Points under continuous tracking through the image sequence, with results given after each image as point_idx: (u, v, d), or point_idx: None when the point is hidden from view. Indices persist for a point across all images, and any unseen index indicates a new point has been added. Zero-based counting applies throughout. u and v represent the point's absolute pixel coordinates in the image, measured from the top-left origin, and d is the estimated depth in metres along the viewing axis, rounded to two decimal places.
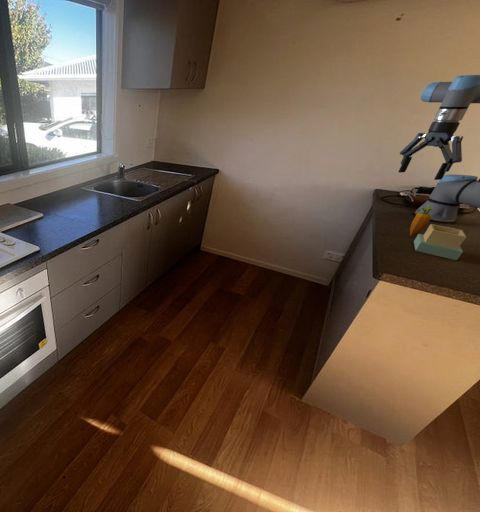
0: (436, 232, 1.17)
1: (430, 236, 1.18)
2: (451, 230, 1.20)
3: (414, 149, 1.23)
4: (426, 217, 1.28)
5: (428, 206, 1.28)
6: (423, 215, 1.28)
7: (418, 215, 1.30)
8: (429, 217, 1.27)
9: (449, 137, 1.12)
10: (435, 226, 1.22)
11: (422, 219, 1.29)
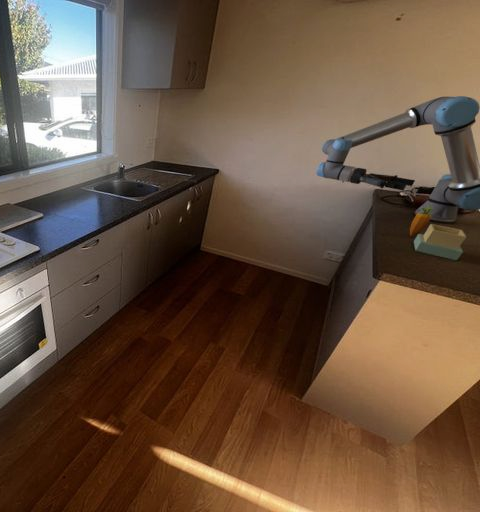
0: (436, 232, 1.17)
1: (430, 236, 1.18)
2: (451, 230, 1.20)
3: (383, 181, 1.41)
4: (426, 217, 1.28)
5: (428, 206, 1.28)
6: (423, 215, 1.28)
7: (418, 215, 1.30)
8: (429, 217, 1.27)
9: None
10: (435, 226, 1.22)
11: (422, 219, 1.29)
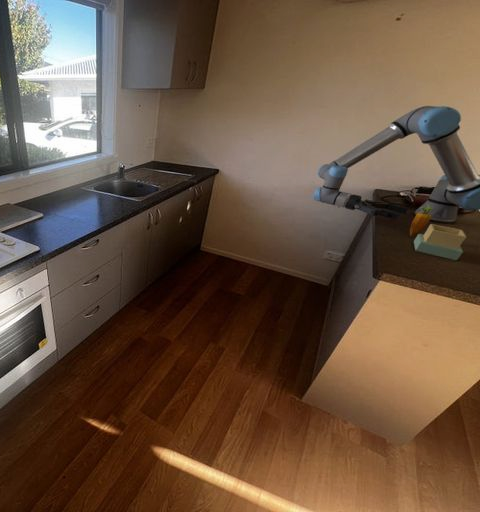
0: (436, 232, 1.17)
1: (430, 236, 1.18)
2: (451, 230, 1.20)
3: (378, 207, 1.45)
4: (426, 217, 1.28)
5: (428, 206, 1.28)
6: (423, 215, 1.28)
7: (418, 215, 1.30)
8: (429, 217, 1.27)
9: None
10: (435, 226, 1.22)
11: (422, 219, 1.29)
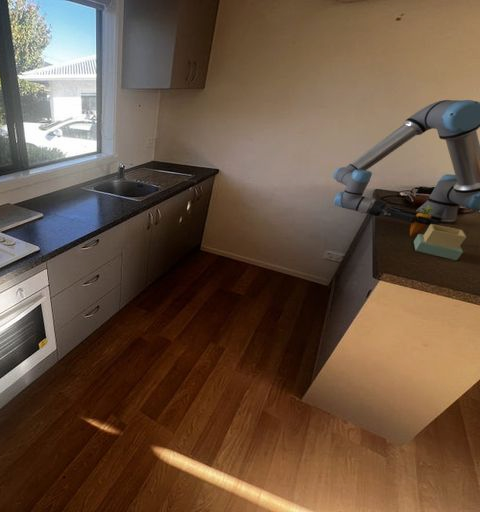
0: (436, 232, 1.17)
1: (430, 236, 1.18)
2: (451, 230, 1.20)
3: None
4: (426, 217, 1.28)
5: (428, 206, 1.28)
6: (423, 215, 1.28)
7: (418, 215, 1.30)
8: (429, 217, 1.27)
9: (383, 213, 1.37)
10: (435, 226, 1.22)
11: None
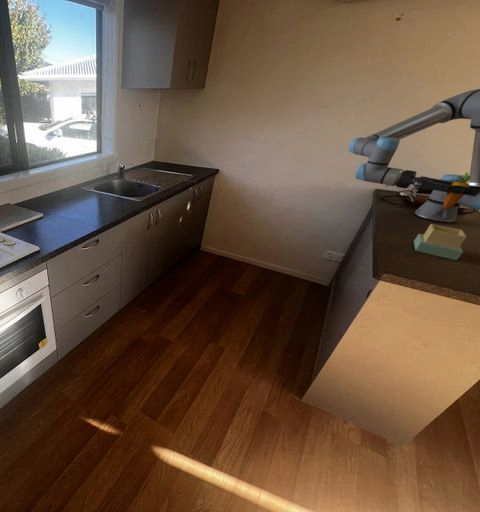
0: (436, 232, 1.17)
1: (430, 236, 1.18)
2: (451, 230, 1.20)
3: None
4: (464, 186, 1.13)
5: (466, 174, 1.13)
6: (460, 184, 1.14)
7: (454, 184, 1.15)
8: (467, 186, 1.13)
9: (413, 184, 1.23)
10: (435, 226, 1.22)
11: None
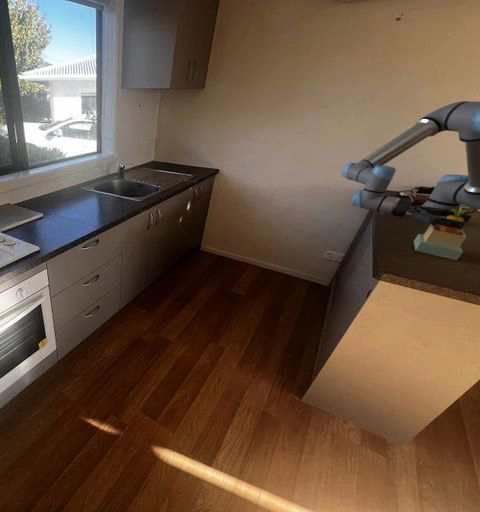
0: (436, 232, 1.17)
1: (430, 236, 1.18)
2: None
3: (432, 214, 1.23)
4: (458, 220, 1.14)
5: (460, 208, 1.14)
6: (454, 218, 1.14)
7: (448, 218, 1.16)
8: (461, 220, 1.13)
9: None
10: (435, 226, 1.22)
11: None
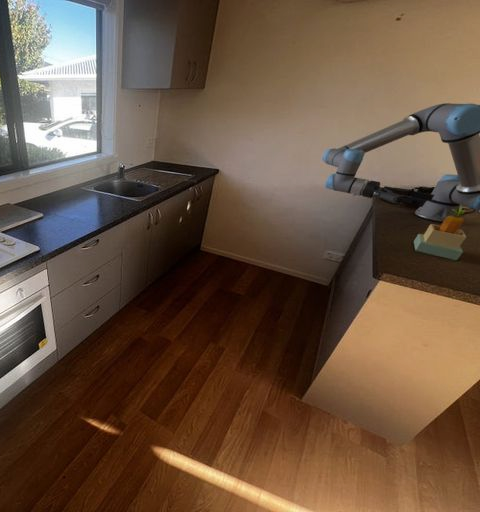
0: (436, 232, 1.17)
1: (430, 236, 1.18)
2: None
3: (399, 195, 1.30)
4: (458, 220, 1.14)
5: (460, 208, 1.14)
6: (454, 218, 1.14)
7: (448, 218, 1.16)
8: (461, 220, 1.13)
9: None
10: (435, 226, 1.22)
11: (453, 223, 1.14)
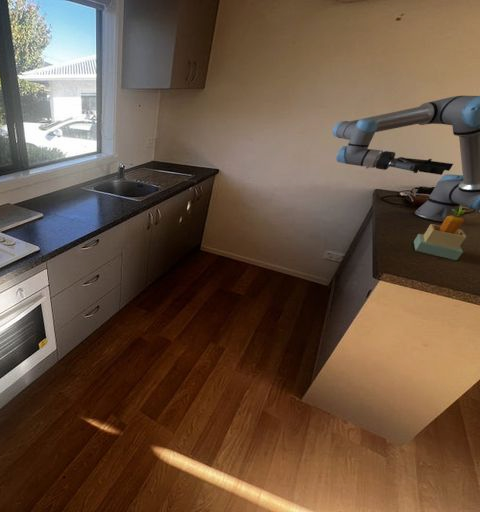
0: (436, 232, 1.17)
1: (430, 236, 1.18)
2: None
3: None
4: (458, 220, 1.14)
5: (460, 208, 1.14)
6: (454, 218, 1.14)
7: (448, 218, 1.16)
8: (461, 220, 1.13)
9: None
10: (435, 226, 1.22)
11: (453, 223, 1.14)
